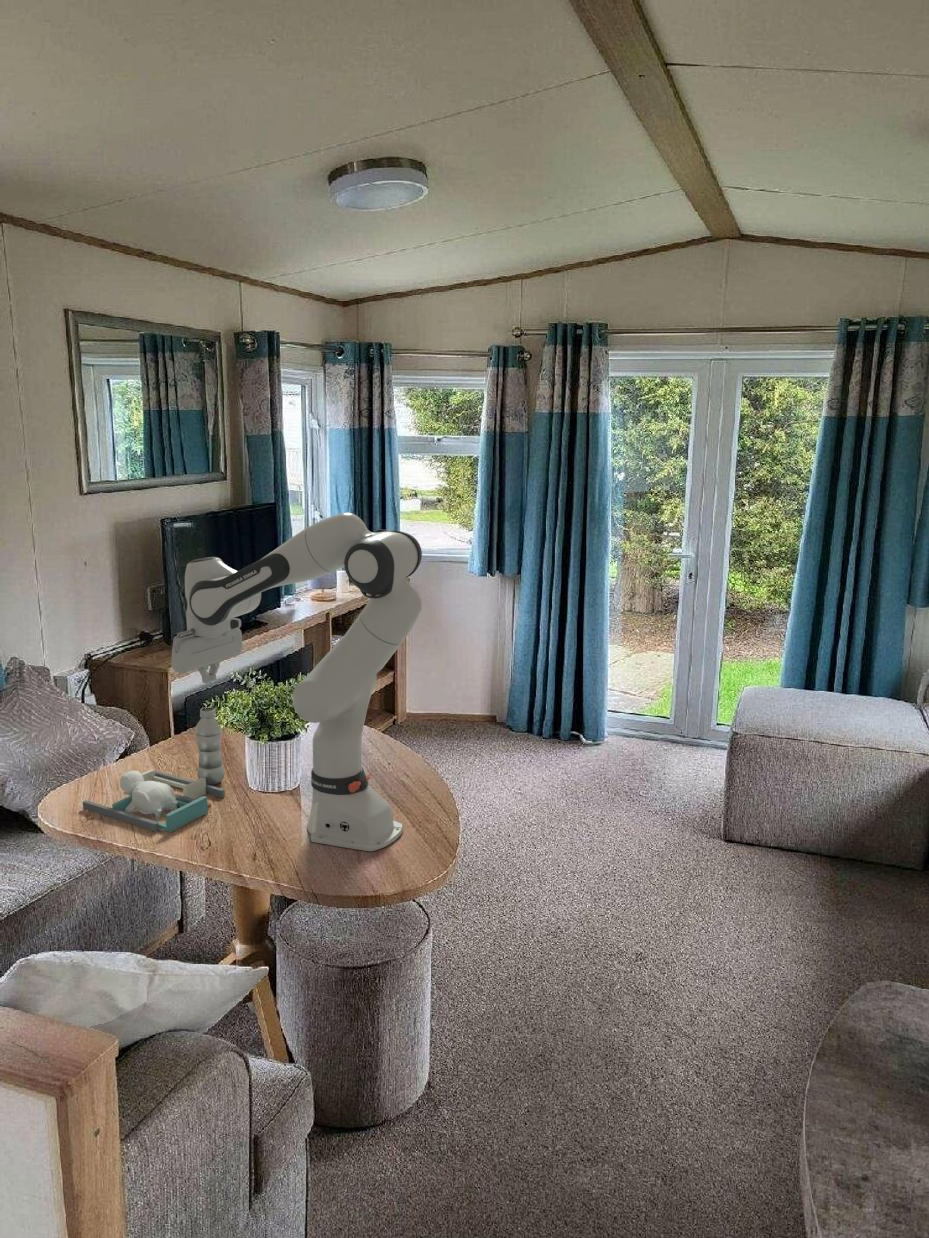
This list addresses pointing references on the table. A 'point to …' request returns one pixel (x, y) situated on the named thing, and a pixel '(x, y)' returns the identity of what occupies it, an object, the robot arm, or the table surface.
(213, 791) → the lane rails
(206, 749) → the plastic bottle
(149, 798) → the white animal figurine
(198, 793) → the grey elongated piece
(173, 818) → the teal sled
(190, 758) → the table surface
